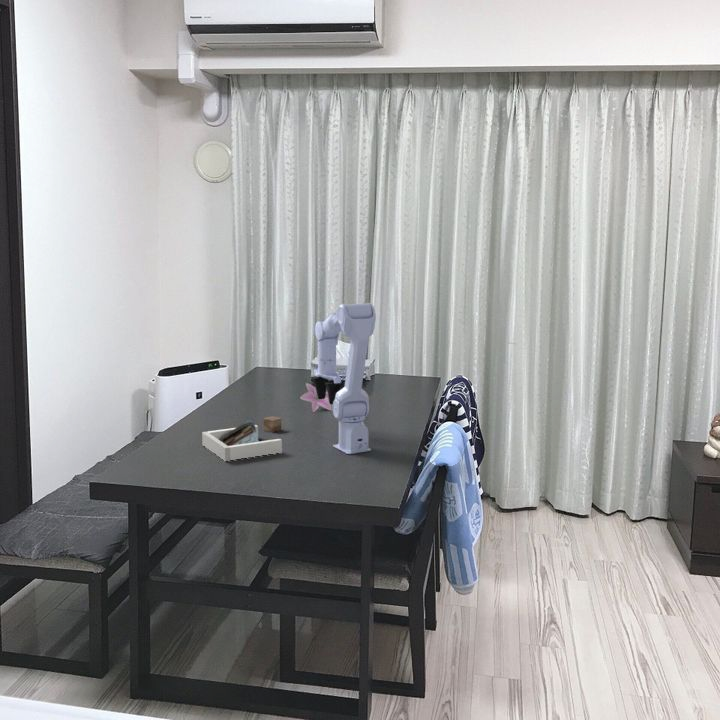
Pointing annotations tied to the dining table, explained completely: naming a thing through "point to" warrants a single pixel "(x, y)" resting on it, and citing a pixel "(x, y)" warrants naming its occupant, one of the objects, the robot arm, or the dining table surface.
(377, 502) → the dining table surface
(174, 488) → the dining table surface
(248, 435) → the chocolate cake
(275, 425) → the walnut block
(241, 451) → the socket bay
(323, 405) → the lily
